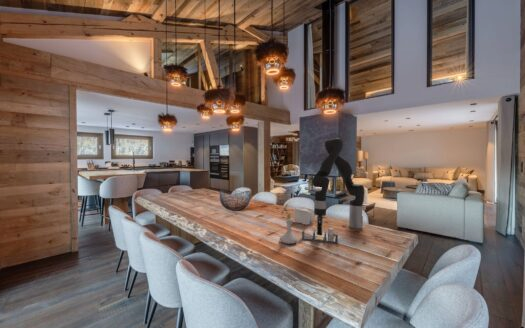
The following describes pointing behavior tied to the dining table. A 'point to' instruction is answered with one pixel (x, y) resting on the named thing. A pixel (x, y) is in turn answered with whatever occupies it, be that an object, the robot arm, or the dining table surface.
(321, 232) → the plug mustard
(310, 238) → the grey compartment rack
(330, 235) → the plug white
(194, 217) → the dining table surface
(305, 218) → the cable organizer
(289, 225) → the white tapered rounded piece
